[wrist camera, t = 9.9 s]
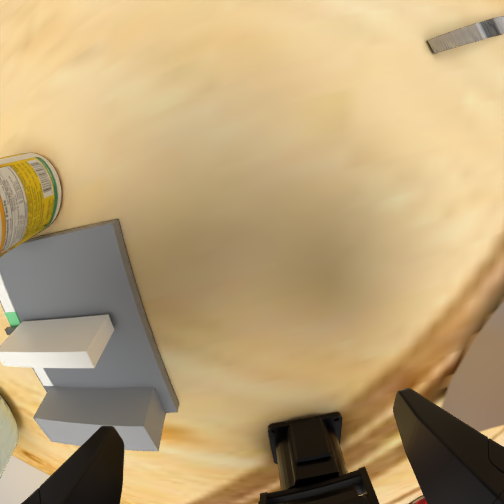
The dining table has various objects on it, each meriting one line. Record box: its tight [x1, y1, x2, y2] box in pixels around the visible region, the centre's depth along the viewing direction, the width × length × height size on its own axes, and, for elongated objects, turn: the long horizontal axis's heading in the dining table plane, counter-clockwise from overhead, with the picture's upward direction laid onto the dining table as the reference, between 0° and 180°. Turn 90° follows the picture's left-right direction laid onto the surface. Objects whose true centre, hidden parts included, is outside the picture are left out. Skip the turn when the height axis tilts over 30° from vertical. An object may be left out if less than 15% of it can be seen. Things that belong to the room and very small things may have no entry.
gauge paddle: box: [0, 314, 114, 368], centre depth 17 cm, size 1×10×4 cm, turn 98°
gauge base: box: [0, 219, 179, 451], centre depth 19 cm, size 15×12×5 cm
